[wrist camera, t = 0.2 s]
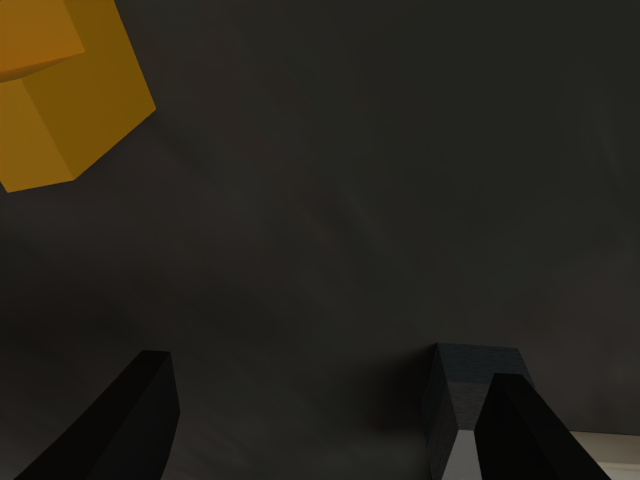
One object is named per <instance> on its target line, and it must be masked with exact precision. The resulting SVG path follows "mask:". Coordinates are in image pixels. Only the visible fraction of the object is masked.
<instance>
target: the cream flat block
mask: <svg viewBox="0 0 640 480" xmlns="http://www.w3.org/2000/svg"><path fill="white" fill-rule="evenodd" d="M570 432H571V434H572V435H573V436H574V437H575V438H576V440H577V441H578V442H579V443H580V444H581V445H582V447H583V448H584V449H585V450H586V451H587V452H588V453H589V455H590V456H591V457H592V458H593V459H594V460H595V461H596V462H597V464H598V465H599V466H600V467H601V468H602V469H603V470H604V472H605V473H606V474H607V475H608V476H609V477H610V478H611V479H612V480H640V436H633V435H618V434H604V433H589V432H574V431H570Z"/></svg>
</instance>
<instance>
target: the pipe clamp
mask: <svg viewBox="0 0 640 480" xmlns="http://www.w3.org/2000/svg"><path fill="white" fill-rule="evenodd" d="M155 110H156V107H155V105H154V102H153V100H152V97H151V95H150V92H149V90H148V87H147V85H146V82H145V79H144V77H143V74H142V72H141V69H140V67H139V64H138V62H137V59H136V57H135V54H134V52H133V49H132V46H131V44H130V41H129V39H128V36H127V34H126V31H125V29H124V26H123V24H122V21H121V19H120V16H119V14H118V11H117V8H116V6H115V3H114V1H113V0H0V181H1V183H2V184H3V186H4V188H5V189H6V191H7V192H8V193H9V192H14V191H19V190H24V189H29V188H35V187H40V186H45V185H50V184H56V183H61V182H66V181H71V180H75V179H76V178H77V177H78V176H79V175H80V174H82V173H83V172H84V171H85V170H86V169H87V168H89V167H90V166H91V165H92V164H93V163H94V162H95V161H97V160H98V159H99V158H100V157H101V156H102V155H104V154H105V153H106V152H107V151H108V150H109V149H111V148H112V147H113V146H114V145H115V144H116V143H118V142H119V141H120V140H121V139H122V138H123V137H124V136H126V135H127V134H128V133H129V132H130V131H131V130H133V129H134V128H135V127H136V126H137V125H138V124H140V123H141V122H142V121H143V120H144V119H145V118H146V117H148V116H149V115H150V114H151V113H152V112H153V111H155Z"/></svg>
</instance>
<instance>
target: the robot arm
mask: <svg viewBox="0 0 640 480" xmlns="http://www.w3.org/2000/svg"><path fill="white" fill-rule="evenodd" d="M179 415H180V408H179V402H178V395H177V389H176V383H175V377H174V371H173V365H172V359H171V352H165V351H149V350H143V351H141V352H140V353H139V354H138V355H137V356H136V357H135V358H134V359H133V360H132V362H131V363H130V364H129V365H128V366H127V367H126V368H125V369H124V370H123V371H122V373H121V374H120V375H119V376H118V377H117V378H116V379H115V380H114V381H113V382H112V383H111V384H110V386H109V387H108V388H107V389H106V390H105V391H104V392H103V393H102V394H101V395H100V396H99V397H98V398H97V399H96V400H95V401H94V402H93V403H92V405H91V406H90V407H89V408H88V409H87V410H86V411H85V412H84V413H83V414H82V415H81V416H80V417H79V418H78V419H77V420H76V421H75V422H74V423H73V424H72V425H71V426H70V427H69V428H68V429H67V430H66V431H65V432H64V433H63V434H62V435H61V436H60V437H59V438H58V439H57V440H56V441H55V442H54V443H52V444H51V445H50V446H49V447H48V448H47V449H46V450H45V451H44V452H43V453H42V454H41V455H40V456H39V457H38V458H36V459H35V460H34V461H33V462H32V463H31V464H30V465H29V466H28V467H27V468H26V469H25V470H24V471H23V472H22V473H20V474H19V475H18V476H17V477H16V478H15V479H14V480H160V479H161V477H162V474H163V472H164V469H165V466H166V463H167V461H168V458H169V454H170V450H171V447H172V443H173V439H174V436H175V432H176V428H177V424H178V419H179ZM474 437H475V443H476V450H477V456H478V461H479V466H480V472H481V477H482V480H612V479H611V478H610V477H609V476H608V475H607V474H606V473H605V472H604V470H603V469H602V468H601V467H600V466H599V465H598V464H597V462H596V461H595V460H594V459H593V458H592V457H591V456H590V455H589V453H588V452H587V451H586V450H585V449H584V448H583V447H582V445H581V444H580V443H579V442H578V441H577V440H576V438H575V437H574V436H573V435H572V434H571V432H570V431H569V430H568V429H567V428H566V427H565V425H564V424H563V423H562V422H561V421H560V419H559V418H558V417H557V416H556V415H555V413H554V412H553V411H552V410H551V409H550V407H549V406H548V405H547V404H546V403H545V401H544V400H543V399H542V398H541V396H540V395H539V394H538V393H537V392H536V390H535V389H534V388H533V387H532V386H531V384H530V383H529V382H528V381H527V380H526V378H525V377H524V376H523V375H522V374H507V373H494V376H493V378H492V381H491V384H490V387H489V390H488V392H487V395H486V398H485V401H484V403H483V406H482V409H481V412H480V415H479V417H478V420H477V423H476V426H475V429H474Z"/></svg>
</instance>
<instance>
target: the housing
mask: <svg viewBox="0 0 640 480" xmlns="http://www.w3.org/2000/svg"><path fill="white" fill-rule="evenodd" d="M494 373H507V374H522V375H523V376H524V377H525V378H526V380H527V381H528V382H529V383H530V384H531V386H532V387H533V388H534V389H535V390H536V388H535V385H534V383H533V381H532V379H531V376H530V374H529V372H528V370H527V367H526V365H525V363H524V361H523V358H522V356H521V354H520V352H519V349H518V348H510V347H496V346H481V345H467V344H452V343H437V346H436V350H435V354H434V357H433V361H432V365H431V369H430V373H429V376H428V380H427V384H426V388H425V392H424V395H423V399H422V403H421V407H420V411H421V417H422V422H423V428H424V434H425V440H426V446H427V451H428V457H429V463H430V469H431V474H432V480H482V477H481V472H480V466H479V461H478V456H477V450H476V443H475V437H474V429H475V426H476V423H477V420H478V417H479V415H480V412H481V409H482V406H483V403H484V401H485V398H486V395H487V392H488V390H489V387H490V384H491V381H492V378H493V376H494ZM536 392H537V390H536ZM537 393H538V392H537Z"/></svg>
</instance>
